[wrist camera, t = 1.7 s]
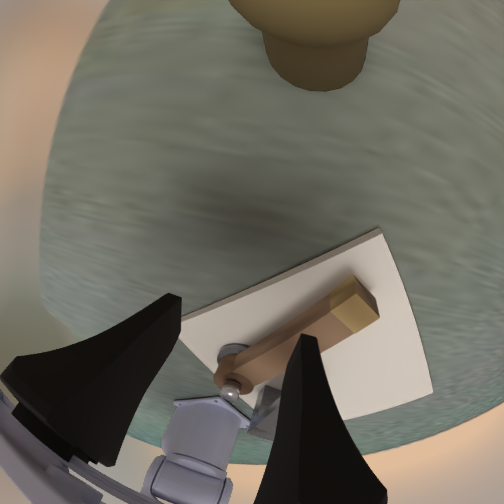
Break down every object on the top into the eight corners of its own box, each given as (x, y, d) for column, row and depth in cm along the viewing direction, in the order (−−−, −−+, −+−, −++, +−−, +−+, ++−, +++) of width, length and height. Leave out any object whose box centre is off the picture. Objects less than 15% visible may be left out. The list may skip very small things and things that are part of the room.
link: (242, 382, 24) (236, 398, 23) (213, 362, 24) (205, 379, 22) (379, 302, 17) (384, 322, 15) (348, 269, 16) (350, 287, 15)
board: (281, 424, 31) (280, 430, 30) (173, 320, 25) (168, 327, 24) (431, 385, 22) (433, 392, 22) (379, 227, 17) (382, 233, 16)
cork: (385, 54, 11) (469, -15, 2) (317, 111, 14) (320, 92, 5) (312, -7, 10) (294, -120, 1) (245, 48, 13) (146, -25, 4)
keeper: (209, 372, 26) (191, 411, 22) (228, 332, 23) (208, 378, 18) (291, 404, 26) (284, 444, 22) (327, 370, 22) (323, 418, 18)
